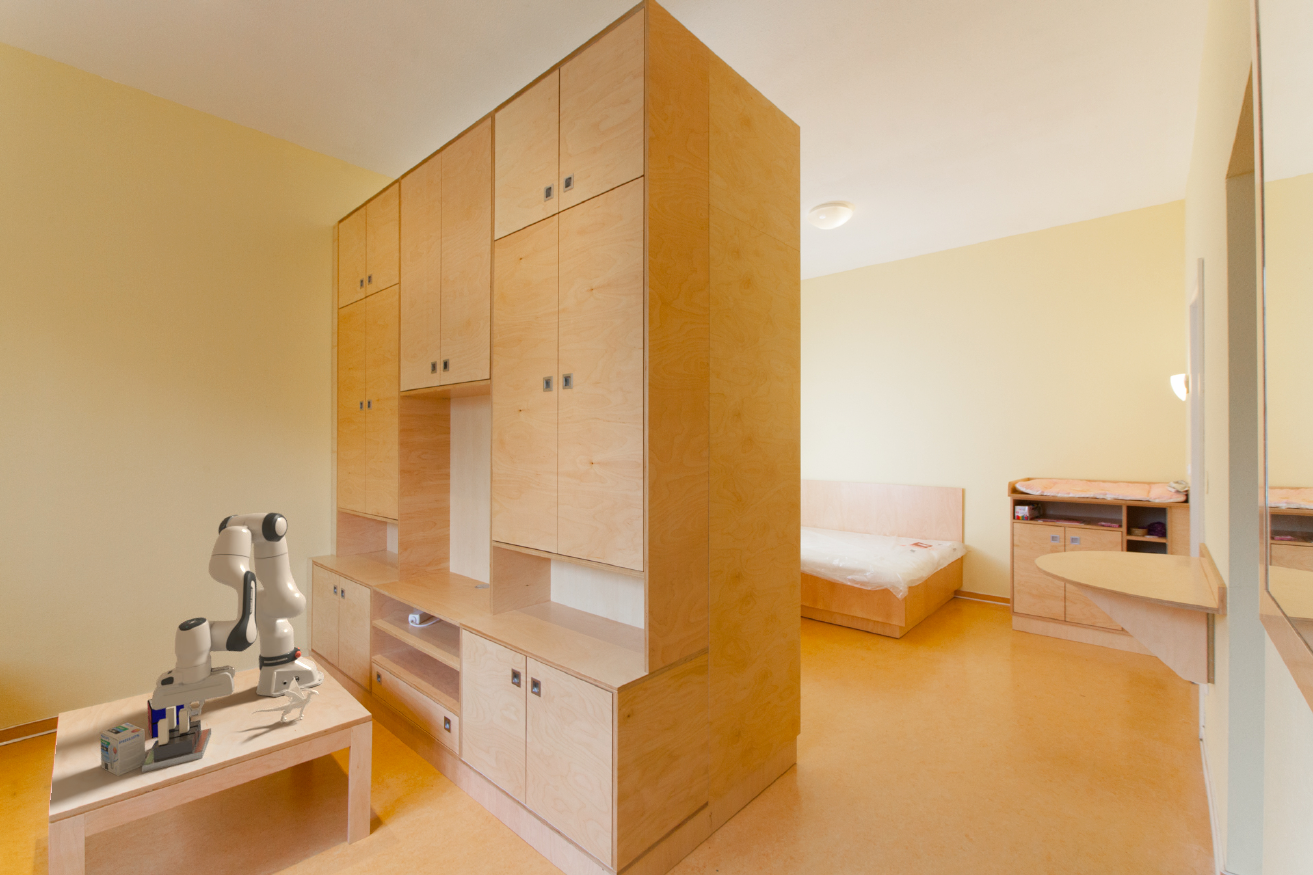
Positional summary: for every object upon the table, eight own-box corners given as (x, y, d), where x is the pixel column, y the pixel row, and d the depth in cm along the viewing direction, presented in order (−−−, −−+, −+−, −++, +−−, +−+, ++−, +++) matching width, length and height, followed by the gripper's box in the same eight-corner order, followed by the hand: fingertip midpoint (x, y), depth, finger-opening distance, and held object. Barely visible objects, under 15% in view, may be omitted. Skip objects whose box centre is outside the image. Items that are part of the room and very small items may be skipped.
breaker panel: (211, 733, 187) (210, 716, 187) (202, 757, 173) (201, 738, 173) (155, 746, 180) (155, 728, 180) (142, 772, 166) (141, 752, 166)
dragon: (316, 722, 194) (315, 685, 193) (246, 734, 186) (245, 696, 186) (322, 707, 204) (321, 672, 204) (256, 718, 197) (255, 681, 197)
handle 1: (169, 739, 173) (168, 717, 172) (167, 743, 171) (166, 721, 170) (160, 741, 172) (159, 719, 171) (158, 745, 170) (157, 723, 169)
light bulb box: (100, 767, 169) (99, 732, 169) (128, 755, 175) (127, 721, 175) (118, 776, 165) (117, 740, 164) (146, 764, 171) (145, 728, 171)
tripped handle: (189, 728, 179) (188, 707, 179) (187, 731, 177) (187, 710, 177) (181, 730, 178) (180, 709, 178) (179, 733, 176) (178, 712, 176)
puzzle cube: (151, 739, 185) (150, 709, 184) (147, 728, 191) (147, 699, 191) (191, 727, 192) (190, 698, 192) (185, 717, 199) (185, 689, 199)
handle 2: (176, 724, 181) (175, 704, 181) (174, 728, 179) (174, 707, 179) (168, 726, 180) (167, 705, 180) (166, 730, 178) (165, 709, 178)
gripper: (235, 660, 186) (236, 702, 187) (154, 675, 176) (155, 719, 176) (233, 667, 181) (234, 710, 181) (149, 683, 171) (150, 728, 171)
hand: (195, 714), depth 179 cm, fingers closed
